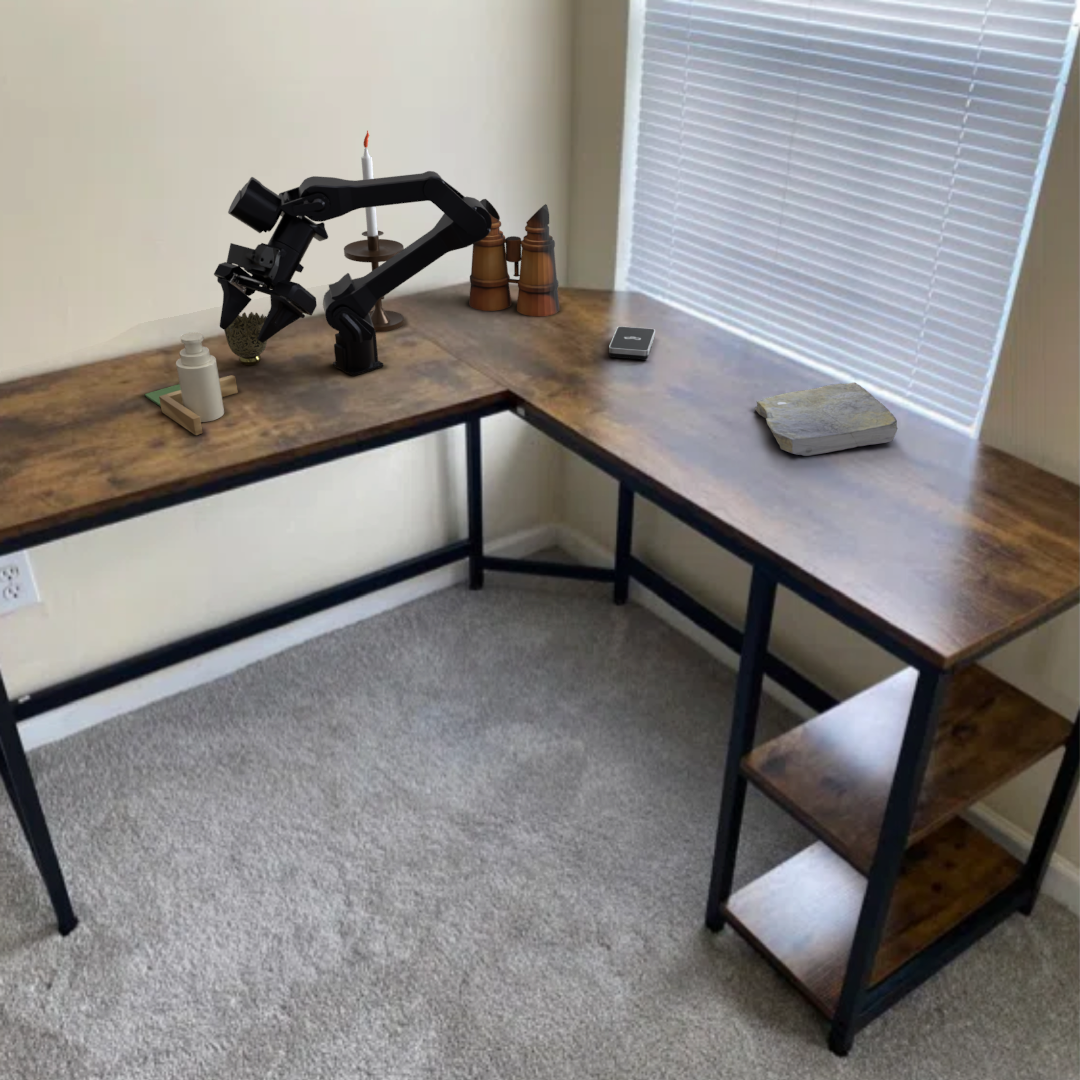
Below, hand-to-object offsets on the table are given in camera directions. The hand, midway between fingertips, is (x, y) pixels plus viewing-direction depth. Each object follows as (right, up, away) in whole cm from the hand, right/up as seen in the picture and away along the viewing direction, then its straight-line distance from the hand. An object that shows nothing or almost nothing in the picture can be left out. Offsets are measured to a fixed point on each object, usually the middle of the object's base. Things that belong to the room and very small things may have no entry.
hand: (240, 334), depth 178 cm
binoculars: (+42, +13, +42) cm, 61 cm away
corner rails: (-4, -12, +1) cm, 13 cm away
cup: (-3, -2, +18) cm, 18 cm away
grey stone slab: (+91, -15, -5) cm, 92 cm away
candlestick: (+17, +8, +34) cm, 39 cm away
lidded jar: (-6, -13, -1) cm, 14 cm away
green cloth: (-11, -8, +7) cm, 15 cm away
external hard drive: (+64, +1, +23) cm, 68 cm away
